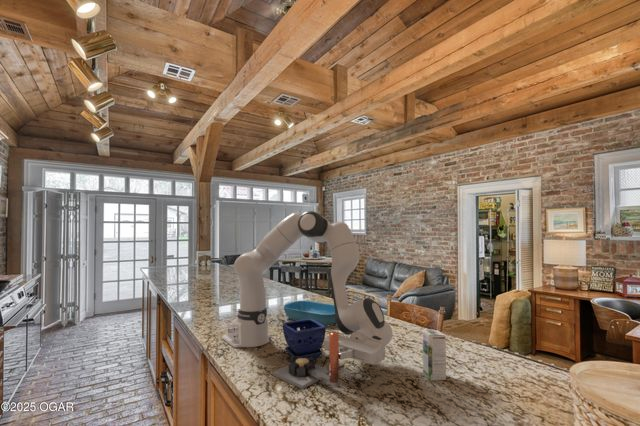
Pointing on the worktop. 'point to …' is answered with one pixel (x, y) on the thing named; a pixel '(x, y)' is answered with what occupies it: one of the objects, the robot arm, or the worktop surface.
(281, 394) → the worktop surface
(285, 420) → the worktop surface
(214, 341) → the worktop surface
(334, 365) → the nut with spanner
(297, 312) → the casserole dish
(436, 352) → the syrup box
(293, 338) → the flower pot
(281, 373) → the plate
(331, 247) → the robot arm
